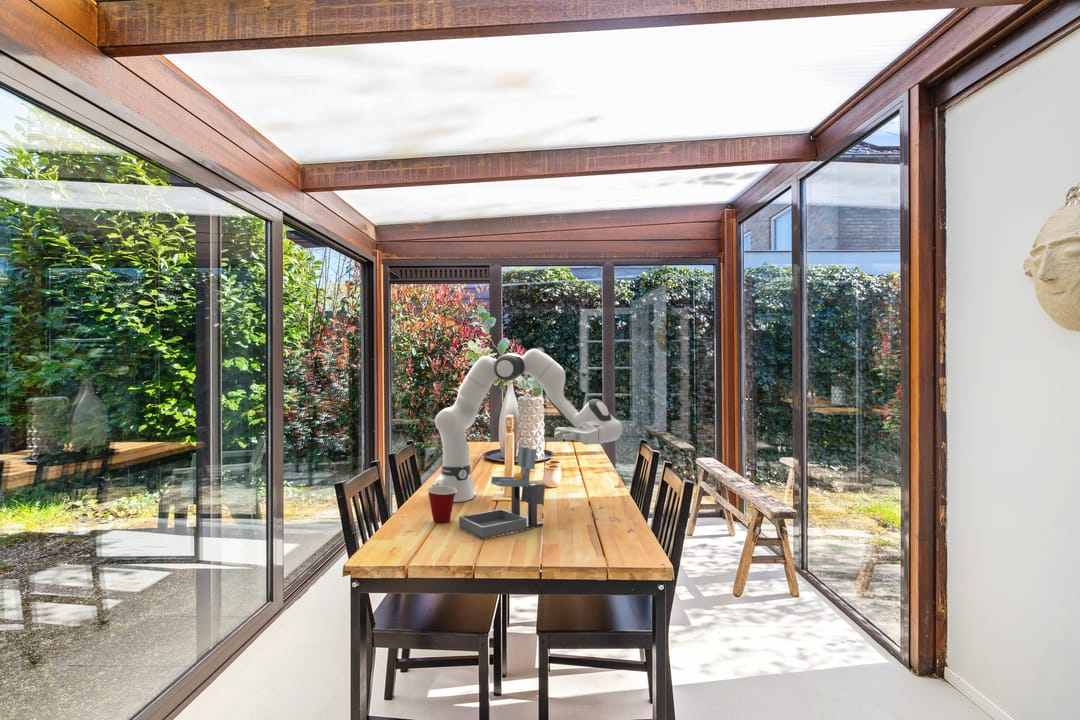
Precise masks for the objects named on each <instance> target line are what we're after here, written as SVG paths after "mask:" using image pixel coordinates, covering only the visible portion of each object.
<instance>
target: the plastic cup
mask: <svg viewBox="0 0 1080 720" xmlns="http://www.w3.org/2000/svg"><path fill="white" fill-rule="evenodd" d="M426 491H427V493H429V495H428V497H429V502H430V508H431V509H430V510H431V514H432V520H433V523H434V524H447V522H448V523H450V520H451V517H452V512H453V505H454V502H453V501H454V496H455V493H456V492H457V489H455V488H453V487H447V486H434V487H432V486H430V487H427V489H426Z"/></svg>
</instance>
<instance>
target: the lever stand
mask: <svg viewBox="0 0 1080 720" xmlns="http://www.w3.org/2000/svg"><path fill="white" fill-rule="evenodd" d="M510 490H511V491H510V492H511V495H510V497H511V500H510V501H511V503H510V504H511V505H510V506H511V507H510V508H511V511H510V512H511V513H514V514H516V515H519V516H521V517H524V518H526V519H527V528H531V529H533V528H532V527H535V528H538V527H537V526H540V527H544V522H542V521H539V520H538V504H537V485H536V484H529V485H528V503H527V504H528V505H527V507H528V508H527V516H526V515H524V514H521V487H511V489H510Z"/></svg>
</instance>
